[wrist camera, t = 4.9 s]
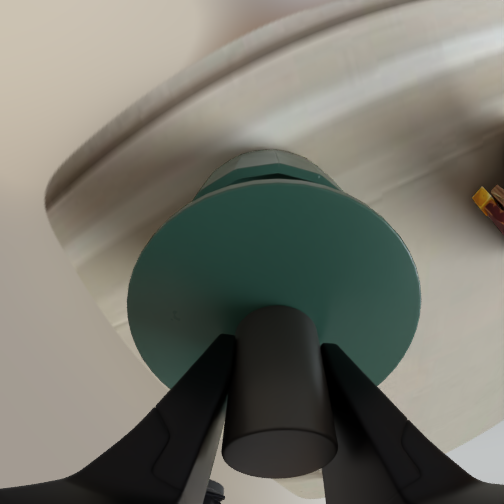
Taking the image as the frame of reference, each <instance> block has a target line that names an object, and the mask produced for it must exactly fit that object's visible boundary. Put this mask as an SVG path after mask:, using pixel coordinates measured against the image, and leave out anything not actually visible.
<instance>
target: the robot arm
mask: <svg viewBox="0 0 504 504" xmlns="http://www.w3.org/2000/svg"><path fill="white" fill-rule="evenodd" d="M234 346H235V335H232V334H224V333H222V334H220V335H219V336H218V337H217V338H216V339H215V340H214V341H213V343H212V344H211V345H210V346H209V347H208V348H207V349H206V351H205V352H204V353H203V354H202V355H201V356H200V357H199V358H198V360H197V361H196V362H195V363H194V364H193V365H192V366H191V367H190V368H189V370H188V371H187V372H186V373H185V374H184V375H183V376H182V377H181V378H180V380H179V381H178V382H177V383H176V384H175V385H174V386H173V387H172V388H171V389H170V391H169V392H168V393H167V394H166V395H165V396H164V397H163V398H162V400H161V401H160V402H159V403H158V404H157V405H156V408H153V409H152V410H151V411H150V412H149V413H148V414H147V416H146V417H145V418H144V419H143V420H142V421H141V422H140V423H139V424H138V425H137V426H136V427H135V428H134V429H132V430H131V431H130V432H129V433H128V434H127V435H125V436H124V437H123V438H122V439H121V440H120V441H118V442H117V443H116V444H115V445H113V446H112V447H111V448H109V449H108V450H107V451H106V452H104V453H103V454H102V455H100V456H99V457H98V458H97V459H95V460H94V461H93V462H91V463H90V464H89V465H87V466H86V467H85V468H83V469H82V470H80V471H79V472H77V473H75V474H73V475H71V476H69V477H66V478H64V479H60V480H55V481H49V482H44V483H38V484H32V485H26V486H19V487H11V488H3V489H0V504H221V503H220V502H219V501H222V500H224V499H225V496H223V495H220V494H216V493H213V492H210V491H206V490H207V486H208V482H209V478H210V475H211V471H212V467H213V463H214V459H215V456H216V451H217V448H218V444H219V440H220V437H221V433H222V429H223V425H224V421H225V416H226V407H227V398H228V390H229V384H230V379H231V372H232V363H233V355H234ZM320 348H321V353H322V358H323V363H324V368H325V374H326V379H327V384H328V390H329V395H330V401H331V406H332V412H333V418H334V424H335V430H336V436H337V442H338V451H337V454H336V456H335V458H334V459H333V460H332V461H331V462H330V463H329V464H327V465H326V466H324V467H323V468H322V473H323V481H324V489H325V498H326V504H504V485H500V484H491V483H486V482H482V481H480V480H478V479H476V478H474V477H472V476H471V475H469V474H468V473H467V472H466V471H465V470H463V469H462V468H461V467H460V466H459V465H457V464H456V463H455V462H454V461H453V460H451V459H450V458H449V457H448V456H446V455H445V454H444V453H443V452H442V451H441V450H439V449H438V448H437V447H436V446H435V445H434V444H433V443H432V442H430V441H429V440H428V439H427V438H426V437H425V436H424V435H423V434H422V433H421V432H420V431H419V430H418V429H417V428H416V427H415V426H414V425H413V424H412V423H411V422H410V421H409V420H407V417H406V416H405V415H404V414H403V413H402V412H401V411H400V410H399V409H398V408H397V407H396V406H395V405H394V404H393V403H392V402H391V401H390V400H389V399H388V398H387V396H386V395H385V394H384V393H383V392H382V391H381V390H380V389H379V388H378V387H377V386H376V385H375V384H374V383H373V382H372V381H371V380H370V379H369V378H368V376H367V375H366V374H365V373H364V372H363V371H362V370H361V369H360V368H359V367H358V366H357V365H356V364H355V363H354V362H353V361H352V360H351V359H350V358H349V356H348V355H347V354H346V353H345V352H344V351H343V350H342V349H341V348H340V347H339V346H338V345H337V344H335V343H322V344H321V346H320Z"/></svg>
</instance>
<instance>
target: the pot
mask: <svg viewBox="0 0 504 504" xmlns="http://www.w3.org/2000/svg"><path fill="white" fill-rule="evenodd" d="M266 179H289V180H302V181H307V182H312V183H317V184H321V185H325V186H328V187H331V188H334V189H336V190H339V191H342V192H344V191H343V190H342V189H341V188H340V187H339V186H338V185H337V184H336V183H335V182H334V181H333V180H332V179H331V178H330V177H329V176H328V175H327V174H326V173H324V172H323V171H322V170H321V169H320V168H318V167H317V166H316V165H315V164H313V163H312V162H311V161H309V160H308V159H307V158H305V157H301V156H299V155H296V154H293V153H290V152H286V151H281V150H274V149H273V150H258V151H253V152H248V153H245V154H241V155H239V156H238V157H236V158H234V159H232V160H230V161H228V162H227V163H225V164H224V165H223V166H221V167H220V168H218V169H216V170H215V171H214V172H213V174H212V175H211V176H210V178H209V179H208V180H207V181H206V183H205V184H204V185H203V187H202V188H201V189H200V191H199V192H198V193H197V195H196V196H195V198H194V199H193V201H195V200H196V199H198V198H200V197H202V196H204V195H206V194H208V193H210V192H213V191H216V190H219V189H221V188H224V187H227V186H230V185H234V184H239V183H244V182H248V181H253V180H266ZM344 193H345V192H344ZM193 201H192V202H193Z"/></svg>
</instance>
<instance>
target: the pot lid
mask: <svg viewBox="0 0 504 504" xmlns="http://www.w3.org/2000/svg"><path fill="white" fill-rule="evenodd" d="M420 308H421V290H420V281H419V277H418V273H417V268H416V265H415V263H414V261H413V258H412V256H411V254H410V251H409V250H408V248H407V247H406V245H405V244H404V242H403V240H402V239H401V237H400V236H399V235H398V234H397V232H396V231H395V230H394V229H393V228H392V227H391V226H390V225H389V224H388V223H387V222H386V221H385V220H384V218H383V217H382V216H380V215H379V214H378V213H377V212H375V211H374V210H373V209H371V208H370V207H369V206H368V205H366V204H365V203H363V202H361V201H359V200H358V199H356V198H354V197H352V196H350V195H349V194H347V193H344V192H342V191H339V190H336V189H334V188H331V187H328V186H325V185H321V184H317V183H312V182H307V181H302V180H289V179H266V180H253V181H248V182H244V183H239V184H234V185H230V186H227V187H224V188H221V189H219V190H216V191H213V192H210V193H208V194H206V195H204V196H202V197H200V198H198V199H196V200H195V201H193V202H191V203H189V204H187V205H186V206H185V207H183V208H182V209H181V210H179V211H178V212H177V213H175V214H174V215H173V216H171V217H170V218H169V219H168V220H167V221H166V222H165V223H164V224H163V225H162V226H161V227H160V228H159V229H158V230H157V232H156V233H155V234H154V235H153V237H152V238H151V239H150V241H149V242H148V244H147V245H146V246H145V248H144V249H143V251H142V252H141V254H140V256H139V258H138V260H137V262H136V264H135V267H134V269H133V272H132V276H131V279H130V283H129V288H128V296H127V312H128V321H129V326H130V330H131V334H132V337H133V339H134V342H135V345H136V347H137V349H138V351H139V353H140V354H141V356H142V358H143V360H144V361H145V363H146V364H147V365H148V367H149V368H150V369H151V371H152V372H153V373H154V374H155V375H156V376H157V377H158V378H159V379H160V381H161V382H162V383H164V384H165V385H166V386H167V387H168V388H169V389H171V388H172V387H173V386H174V385H175V384H176V383H177V382H178V381H179V380H180V378H181V377H182V376H183V375H184V374H185V373H186V372H187V371H188V370H189V368H190V367H191V366H192V365H193V364H194V363H195V362H196V361H197V360H198V358H199V357H200V356H201V355H202V354H203V353H204V352H205V351H206V349H207V348H208V347H209V346H210V345H211V344H212V343H213V341H214V340H215V339H216V338H217V337H218V336H219V335H220V334H222V333H224V334H232V335H235V346H234V355H233V363H232V372H231V379H230V384H229V390H228V398H227V407H226V416H225V424H224V433H223V443H222V456H223V459H224V461H225V462H226V463H227V464H228V465H229V466H230V467H231V468H233V469H235V470H236V471H239V472H241V473H244V474H247V475H250V476H255V477H262V478H291V477H297V476H301V475H305V474H309V473H312V472H314V471H317V470H319V469H321V468H323V467H324V466H326V465H327V464H329V463H330V462H331V461H332V460H333V459H334V458H335V456H336V454H337V451H338V442H337V436H336V430H335V424H334V418H333V412H332V406H331V401H330V395H329V390H328V384H327V379H326V374H325V368H324V363H323V358H322V353H321V348H320V346H321V344H322V343H335V344H337V345H338V346H339V347H340V348H341V349H342V350H343V351H344V352H345V353H346V354H347V355H348V356H349V358H350V359H351V360H352V361H353V362H354V363H355V364H356V365H357V366H358V367H359V368H360V369H361V370H362V371H363V372H364V373H365V374H366V375H367V376H368V378H369V379H370V380H371V381H372V382H373V383H374V384H375V385H376V386H378V385H379V384H380V383H381V382H382V381H384V380H385V379H386V377H387V376H388V375H389V374H390V373H391V372H392V371H393V370H394V369H395V368H396V366H397V365H398V364H399V362H400V361H401V359H402V358H403V357H404V355H405V353H406V351H407V350H408V348H409V346H410V344H411V342H412V339H413V337H414V334H415V332H416V329H417V325H418V321H419V316H420Z"/></svg>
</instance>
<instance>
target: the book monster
mask: <svg viewBox="0 0 504 504" xmlns="http://www.w3.org/2000/svg"><path fill="white" fill-rule="evenodd" d="M490 193H491V194H492V196H493V197H492V196H491V195H490V194H489V193H488V192H487V191H486V190H485V189H484V188H483V187H481V188H480V189H479V190H478V191H477V193H476V194H475V195H474V196H473V197H472V199H473V200H474V202H475V203H476V205H477V206H478V207H479V208H480V209H481V211H482V212H483V213H484V214H485V215H486V216H488V217H489V218H490V219H491V220H492V221H493V223H494V224H495V225H496V226H497V227H498V229H499V230H500V231H501V232H502V234H503V235H504V189H502V188H501V187H500V186H498V185H496V186H495V187H494V188H493V189H492V190H491V191H490ZM493 198H494V199H495V200H494V199H493ZM495 201H496V202H497V203H496V202H495ZM497 204H498V205H499V207H500V208H501V209H500V208H499V207H498V206H497Z"/></svg>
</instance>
